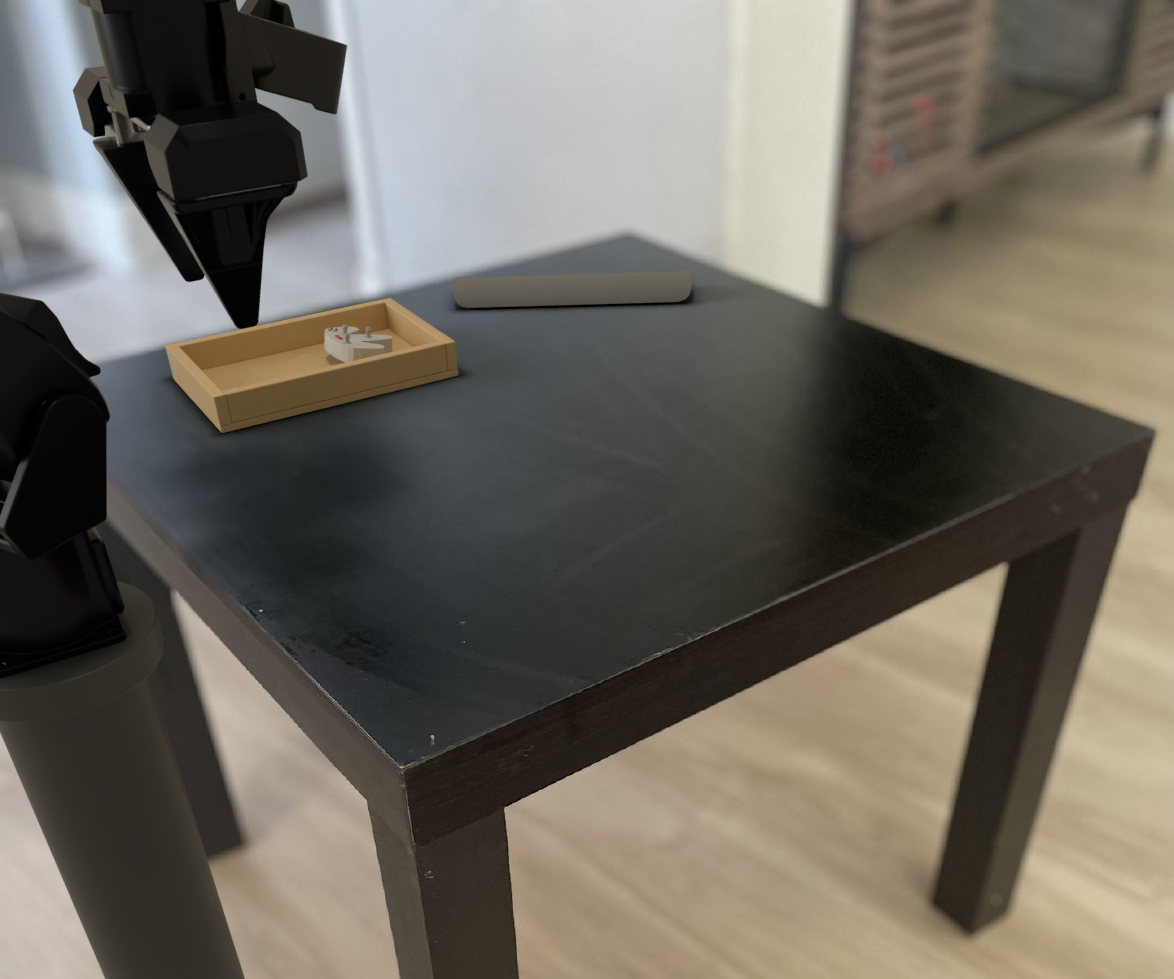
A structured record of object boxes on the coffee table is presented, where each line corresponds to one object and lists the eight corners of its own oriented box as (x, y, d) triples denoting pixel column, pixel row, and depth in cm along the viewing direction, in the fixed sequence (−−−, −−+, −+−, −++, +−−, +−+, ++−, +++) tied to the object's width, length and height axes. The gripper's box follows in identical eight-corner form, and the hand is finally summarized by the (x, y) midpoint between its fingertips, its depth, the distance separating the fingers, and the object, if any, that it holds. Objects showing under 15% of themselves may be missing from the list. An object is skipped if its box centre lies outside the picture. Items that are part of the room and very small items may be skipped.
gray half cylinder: (457, 293, 102) (455, 271, 101) (690, 286, 101) (690, 264, 100) (452, 310, 99) (450, 287, 97) (693, 303, 98) (693, 280, 97)
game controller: (412, 357, 89) (408, 321, 88) (291, 410, 83) (283, 372, 81) (360, 341, 92) (354, 306, 90) (238, 391, 86) (230, 354, 84)
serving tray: (221, 433, 81) (213, 397, 79) (173, 379, 89) (164, 345, 87) (459, 375, 88) (455, 340, 86) (394, 329, 95) (390, 297, 94)
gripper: (388, -51, 52) (430, 320, 62) (248, -78, 64) (302, 235, 74) (125, -26, 47) (216, 368, 57) (30, -60, 60) (118, 269, 70)
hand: (219, 302), depth 65 cm, fingers open, 9 cm apart
